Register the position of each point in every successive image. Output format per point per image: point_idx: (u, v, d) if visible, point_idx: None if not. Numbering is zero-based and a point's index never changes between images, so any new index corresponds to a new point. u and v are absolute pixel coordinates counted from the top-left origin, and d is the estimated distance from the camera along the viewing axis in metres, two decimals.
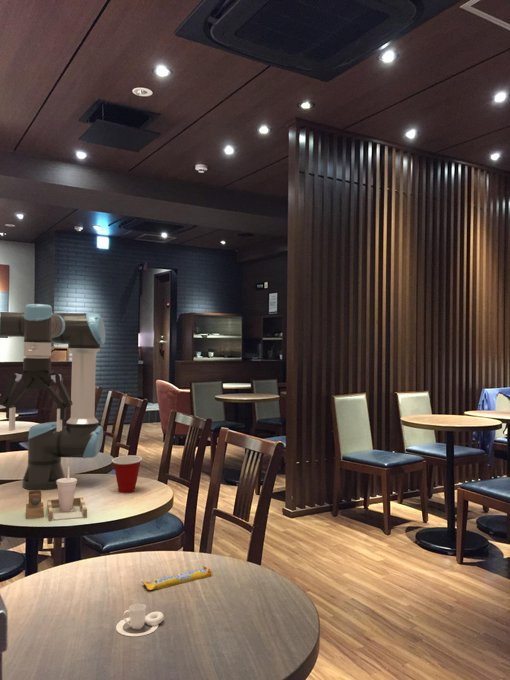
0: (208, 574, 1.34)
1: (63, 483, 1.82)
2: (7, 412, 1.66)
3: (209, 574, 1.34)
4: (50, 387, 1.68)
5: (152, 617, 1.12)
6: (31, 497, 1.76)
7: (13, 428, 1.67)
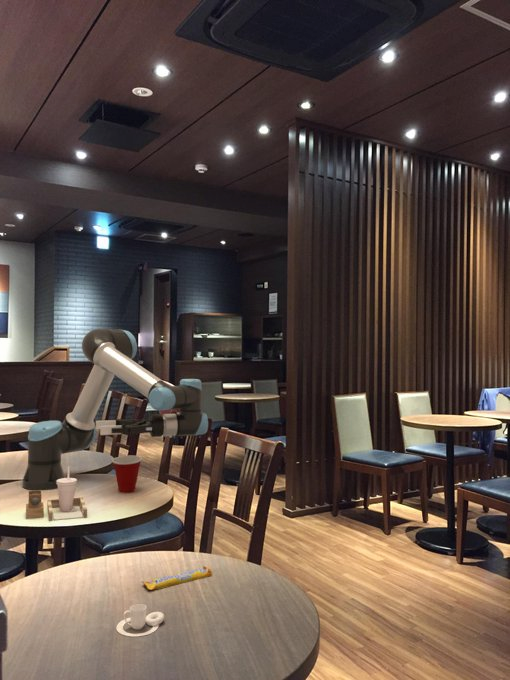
0: (208, 574, 1.34)
1: (63, 483, 1.82)
2: (117, 432, 1.83)
3: (209, 574, 1.34)
4: None
5: (152, 617, 1.12)
6: (31, 497, 1.76)
7: None
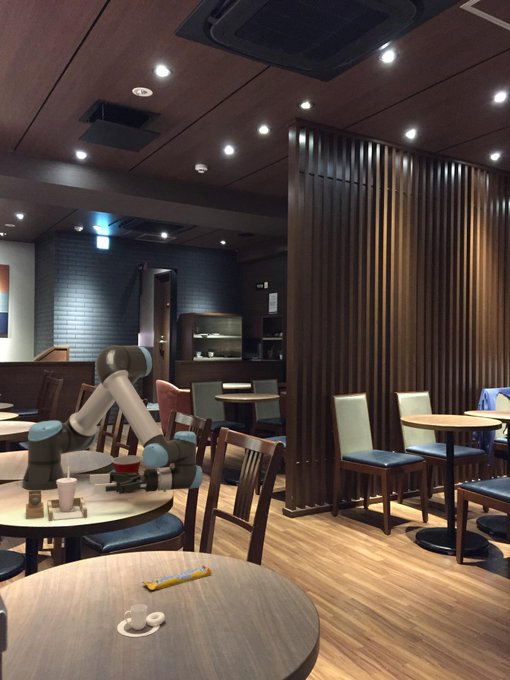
0: (208, 573, 1.35)
1: (63, 483, 1.82)
2: (111, 491, 1.82)
3: (209, 573, 1.35)
4: None
5: (153, 618, 1.12)
6: (31, 497, 1.76)
7: None
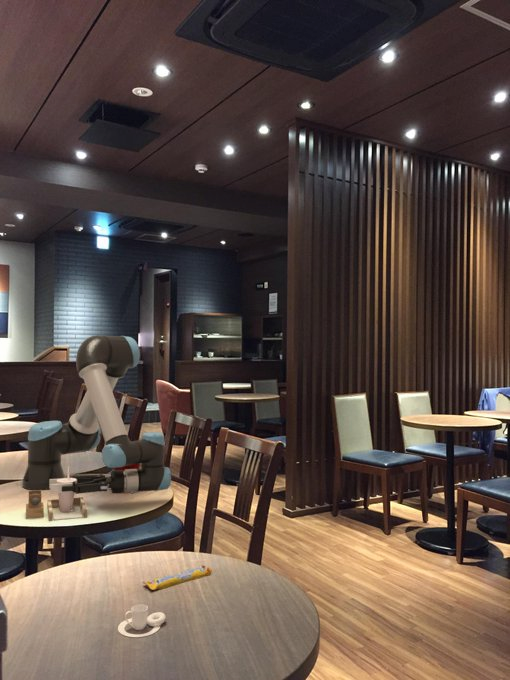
0: (208, 573, 1.35)
1: (63, 483, 1.82)
2: (67, 490, 1.80)
3: (209, 572, 1.35)
4: None
5: (154, 618, 1.12)
6: (31, 497, 1.76)
7: None
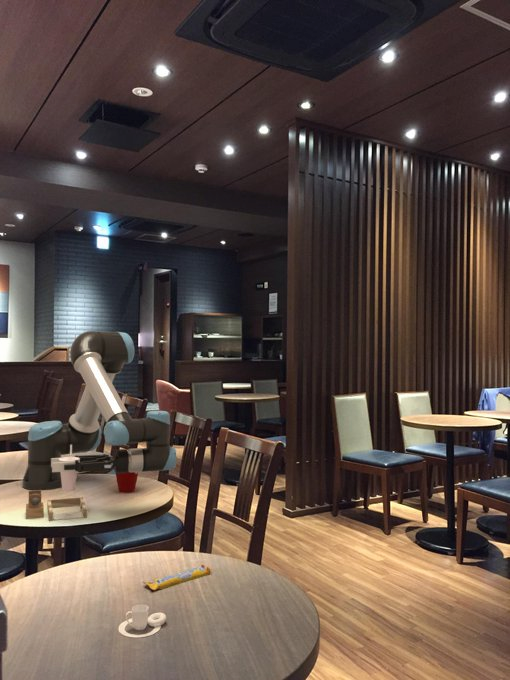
0: (207, 572, 1.35)
1: None
2: (70, 469, 1.74)
3: (208, 572, 1.36)
4: None
5: (154, 618, 1.12)
6: (31, 497, 1.76)
7: None
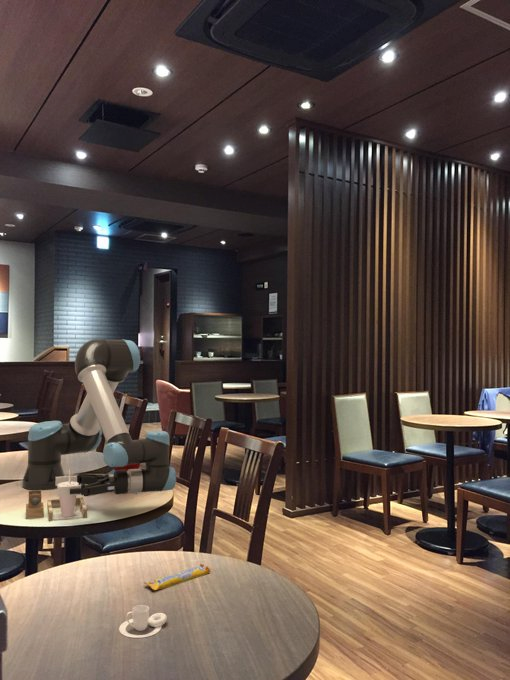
0: (207, 571, 1.36)
1: None
2: (76, 493, 1.72)
3: (208, 571, 1.36)
4: None
5: (155, 618, 1.12)
6: (31, 497, 1.76)
7: None
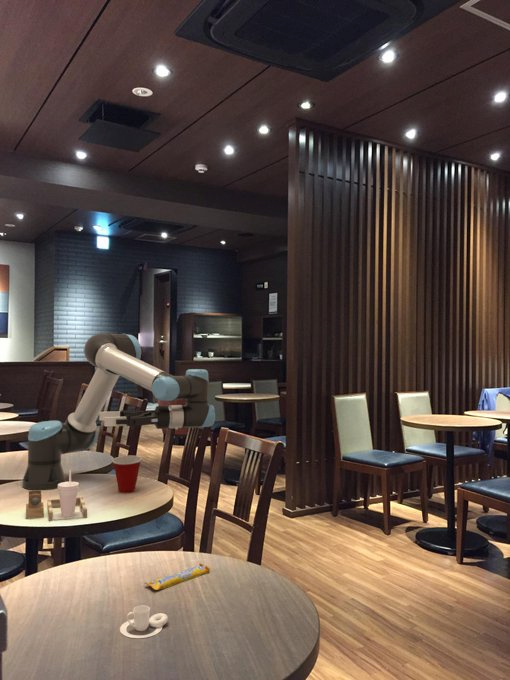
0: (206, 571, 1.36)
1: (65, 487, 1.75)
2: (122, 424, 1.77)
3: (207, 570, 1.36)
4: None
5: (156, 619, 1.12)
6: (31, 497, 1.76)
7: None
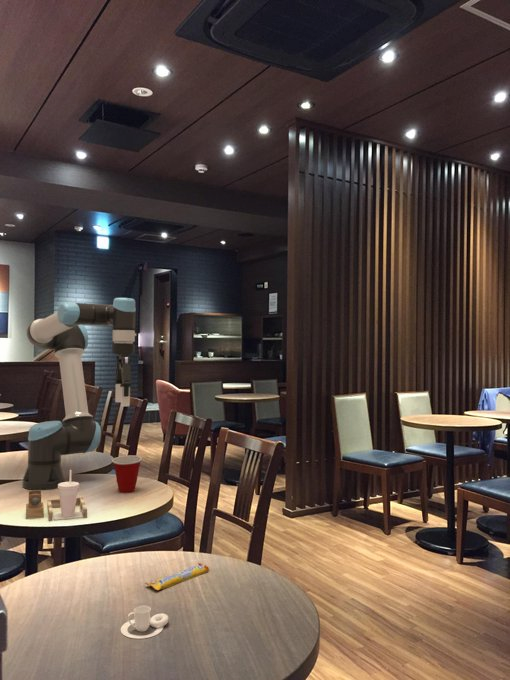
0: (206, 570, 1.37)
1: (65, 487, 1.75)
2: None
3: (207, 570, 1.37)
4: None
5: (157, 619, 1.11)
6: (31, 497, 1.76)
7: None
